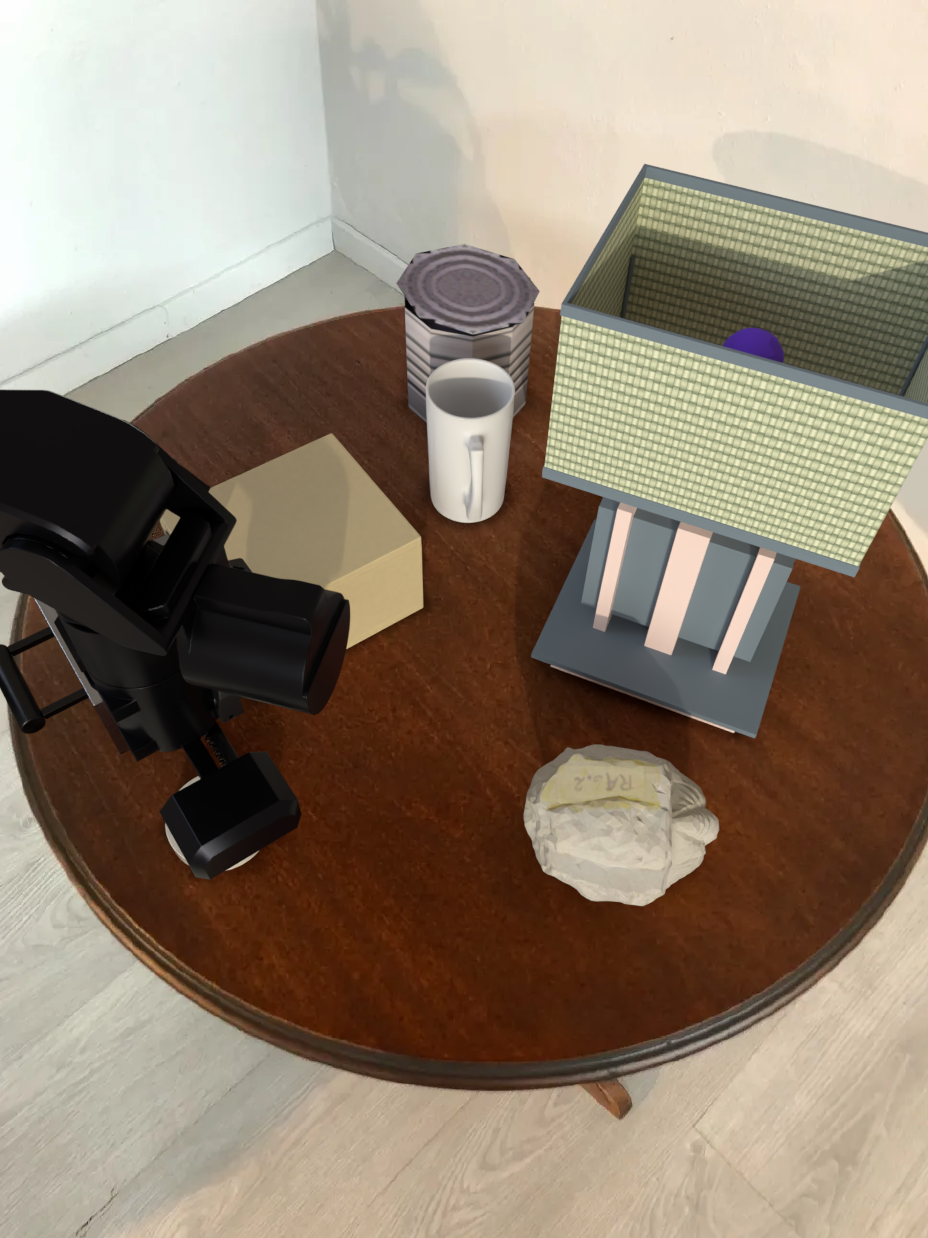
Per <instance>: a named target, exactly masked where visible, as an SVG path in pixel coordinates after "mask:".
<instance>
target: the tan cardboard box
mask: <svg viewBox="0 0 928 1238" xmlns="http://www.w3.org/2000/svg"><path fill="white" fill-rule="evenodd" d="M209 493H210V494H211V495H212V496H213V497H214V498H215V499H217V500H218V501H219V502H220V503H221V504H222V505H223V506H224V507H225V508H226V509H227V510H228V511H229V512H230V513H231V514H233V515H234V516H235V518H236V519H237V522H236V524H235V526H234V528H233V530H232V532H231V534H230V536H229V538H228V539H227V541H226V543H225V545H224V548H225V551H226V555H227V558H228V560H232V559H237V558H242V559H243V560H244V561H245V563H246V564H247V565H248V567H249V568H250V570H251V571H252V572H253V573H257V574H262V575H266V576H270V577H275V578H280V579H293V580H299V581H304V582H308V583H312V584H317V585H320V586H321V587H323V588H324V589H326V590H331V591H335V592H339V593H342V595H343V596H344V598H345V599H347V600H349V603H350V630H349V637H348V643H347V648H346V650H348V649H349V648H352V647H353V646H356V645H357V644H359V643H360V642H363V641H364V640H366V639H368V638H370V637H372V636H374V635H375V634H378V633H379V632H382V631H383V630H385V629H387V628H389V627H390V626H393V625H394V624H396V623H399V622H400V621H402V620H403V619H405V618H407V617H409V616H410V615H412V614H415V613H416V612H418V611H420V610H422V609H423V608H424V577H423V575H424V574H423V546H422V545H423V544H422V536H421V535H420V534H419V532H418V531H417V530H416V529H415V528H414V527H413V525H412V524H411V523H410V522H409V520H408V519H407V518H406V517H405V516H404V515H403V514H402V513H401V511H400V510H399V509H398V508H397V507H396V506H395V504H394V503H393V502H392V501H391V500H390V499H389V497H388V496H387V495H386V494H385V493H384V491H382V489H381V488H380V487H379V486H378V485H377V484H376V483H375V481H374V480H373V479H372V478H371V477H370V475H369V474H368V473H367V472H366V471H365V470H364V468H363V467H362V466H361V465H360V464H359V463H358V461H357V460H356V459H355V458H354V457H353V455H352V454H351V453H350V452H349V451H348V450H347V449H346V448H345V446H344V445H343V444H342V443H341V442H340V440H339V439H338V438H337V437H336V436H335V435H334V434H333V432H332V433H331V432H330V433H329V434H326V435H324V436H322V437H320V438H317V439H315V440H312V441H311V442H309V443H306V444H304V445H302V446H300V447H298V448H296V449H293V450H291V451H289V452H287V453H284V454H282V455H280V456H278V457H275V458H274V459H271V460H268V461H267V462H265V463H263V464H262V463H261V464H260V465H258V466H256V467H254V468H252V469H249V470H248V471H245V472H243V473H241V474H238V475H236V476H234V477H232V478H229V479H227V480H225V481H223V482H221V483H218V484H216V485H213V486H211V488H210V490H209ZM179 519H180V517H179V516H177V515H175V514H174V513H172V512H170V511H169V510H167V509H166V511H165V512H164V514H163V516H162V517H161V519H160V521H159V523H160V527H161V528H162V532H163V533H164V534H163V535H166V534H168V533H169V534H170V535H171V533H172V531H173V529H174V528H175V526H176V524H177V522H178V521H179Z"/></svg>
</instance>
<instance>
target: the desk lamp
mask: <svg viewBox="0 0 928 1238" xmlns="http://www.w3.org/2000/svg"><path fill="white" fill-rule="evenodd" d="M559 316H560V317H561V319H560V327H559V336H558V337H559V338H558V345H557V354H556V362H555V371H554V380H553V381H554V382H553V388H552V398H551V405H550V406H551V407H550V413H549V414H550V416H549V424H548V434H547V442H546V450H545V459H544V464H543V465H542V473H541V474H542V475H541V478H543V479H547V480H549V481H552V482H555V483H559V484H562V485H564V486H568V487H571V488H574V489H577V490H581V491H584V492H587V493H589V494H593V495H595V496H598V497H599V496H600V497H602V499H601V501H600V503H599V504H598V510H597V515H596V518H594V520H593V522H592V524H591V526H590V528H589V530H588V532H587V535H586V537H585V539H584V540H583V543H582V545H581V547H580V550H579V551H578V553H577V555H576V558H575V560H574V562H573V564H572V566H571V568H570V571H569V573H568V575H567V577H566V579H565V581H564V582H563V583H564V584H563V585H562V588H561V590H560V592H559V594H558V596H557V599H556V600H555V603H554V605H553V607H552V608H551V611H550V613H549V615H548V618H547V620H546V621H545V624H544V625H543V628H542V631H541V632H540V635H539V637H538V638H537V641H536V643H535V645H534V648H533V650H532V651H531V655H530V658H532V659H534V660H537V661H540V662H542V663H546V664H548V665H550V668H553V669H556V670H558V671H561V672H564V673H567V674H570V675H572V676H575V677H578V678H581V679H583V680H586V681H589V682H592V683H595V684H597V685H600V686H602V687H606V688H608V689H611V690H614V691H616V692H619V693H622V694H625V695H627V696H629V697H632V698H635V699H638V700H640V701H641V700H642V701H644V702H647V703H649V704H652V705H655V706H658V707H661V708H663V709H666V710H669V711H672V712H675V713H677V714H680V715H682V716H686V717H688V718H691V719H693V720H696V721H699V722H701V723H705V724H708V725H711V726H713V727H716V728H719V729H722V730H724V731H727V732H729V733H732V734H735V733H739V734H742V735H744V736H747V737H750V738H752V739H756V737H757V735H758V732H759V729H760V726H761V723H762V718H763V715H764V712H765V708H766V705H767V702H768V699H769V695H770V691H771V688H772V685H773V681H774V678H775V675H776V672H777V668H778V665H779V662H780V658H781V654H782V651H783V648H784V644H785V641H786V637H787V635H788V631H789V628H790V624H791V620H792V619H793V618H792V617H793V614H794V611H795V607H796V604H797V601H798V597H799V594H800V590H801V585H798V584H794V583H792V582H790V581H788V580H789V578H790V575H791V573H792V571H793V569H794V565H795V561H796V560H799V561H802V562H805V563H807V564H812V565H815V566H817V567H821V568H823V569H827V570H830V571H833V572H836V573H839V574H843V575H845V576H849V577H852V578H856V575H857V574H858V572H859V570H860V567H861V565H862V561H863V559H864V558H865V555H866V554H867V552H868V550H869V548H870V547H871V545H872V543H873V541H874V539H875V537H876V535H877V534H878V531H879V529H881V526H882V525H883V522H884V520H885V519H886V517H887V514H888V513H889V511H890V509H891V507H892V505H893V504H894V502H895V500H896V498H897V496H898V494H899V492H900V490H901V488H902V487H903V485H904V483H905V482H906V479H907V478H908V476H909V474H910V472H911V470H912V468H913V466H914V464H915V462H916V461H917V460H918V458H919V455H920V453H921V451H922V449H923V448H924V446H925V445H926V442H927V440H928V232H927V231H923V230H919V229H915V228H910V227H906V226H902V225H898V224H894V223H890V222H886V221H882V220H878V219H873V218H871V217H870V218H869V217H865V216H861V215H857V214H853V213H849V212H846V211H845V212H844V211H842V210H841V211H840V210H837V209H833V208H828V207H824V206H821V205H816V204H812V203H808V202H804V201H800V200H795V199H791V198H787V197H783V196H779V195H774V194H771V193H768V192H767V193H766V192H762V191H759V190H756V189H755V190H754V189H751V188H745V187H743V186H738V185H734V184H729V183H726V182H722V181H718V180H714V179H709V178H705V177H701V176H697V175H693V174H689V173H685V172H680V171H678V170H677V171H676V170H673V169H672V170H671V169H668V168H664V167H660V166H655V165H651V164H647V163H643V165H642V167H641V169H640V171H639V172H638V174H637V176H636V177H635V179H634V180H633V182H632V184H631V185H630V187H629V189H628V191H627V192H626V194H625V196H624V198H623V199H622V200H621V202H620V204H619V205H618V207H617V209H616V210H615V212H614V214H613V216H612V217H611V219H610V220H609V222H608V225H607V226H606V228H605V229H604V230H603V232H602V235H601V236H600V238H599V240H598V242H597V243H596V244H595V246H594V248H593V250H592V251H591V252H590V254H589V256H588V258H587V260H586V261H585V263H584V265H583V266H582V269H581V270H580V272H579V273H578V275H577V277H576V278H575V280H574V282H573V284H572V285H571V287H570V288H569V291H567V293H566V295H565V297H564V298H563V301H562V302H561V304H560V312H559Z"/></svg>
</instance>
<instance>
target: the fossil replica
mask: <svg viewBox="0 0 928 1238" xmlns="http://www.w3.org/2000/svg"><path fill="white" fill-rule="evenodd" d="M706 806H707V801H706V796H705V795H704V793H703V790H702V788H701V787H700V786H699V785H698V784H697V783H696V782H694V781H693V780H692V779H690V778H689V777H688V776H686V775H685V774H684V773H682V772H680V770H679V769H678V768H676V767H675V765H673V764H672V762H671V761H669V760H667V759H665V758H662V757H657V756H656V755H654V754H652V753H651V752H649V751H647V750H639V749H638V750H637V749H632V748H626V747H619V746H614V745H604V744H590V745H587V746H585V747H582V748H572V747H566V748H565V749H564V750H563V752H561V753H560V754H559V755H558V756H557V757H555V758H554V759H553V760H551V761H549V762H548V763H546V764H544V765H542V766H541V767H540V768H539V769H537V770H536V772H535V773H534V775H533V777H532V780H531V783H530V786H529V788H528V790H527V792H526V795H525V804H524V809H523V822H524V828H525V830H526V832H527V835H528V836H529V838H530V839H531V843H532V848H533V850H534V853H535V857H536V860H537V861H538V863H539V865H540V867H541V870H542V872H543V873H545V874H546V875H548V876H551V877H554V878H555V879H557V880H559V881H561V882H562V883H564V884H567V885H569V886H571V887H572V888H574V889H575V890H576V891H577V892H578V893H579V894H580V895H581V896H582V897H584V898H585V899H587V900H589V901H591V902H616V903H622V904H623V905H630V906H638V907H644V906H646V905H649V904H650V903H654V901H656V899H658V898H660V897H663V896H665V894H666V890H667V889H669V888H671V885H673V884H675V883H677V882H678V881H679V880H681V879H683V878H684V877H686V876H687V875H690V874H691V873H692V872H694V871H695V870H696V869H697V868H698V867H700V865H701V864H702V863H703V861H704V857H705V855H706V854H707V851H706V846H707V845H709V844H711V842H713V841H715V840H716V839H717V838H718V833H719V831H720V823H719V818H718V817H717V816H716V815H715V814H714V813H713V812H712V811H710V810H709V809H708V808H706Z"/></svg>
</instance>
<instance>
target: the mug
mask: <svg viewBox="0 0 928 1238" xmlns="http://www.w3.org/2000/svg"><path fill="white" fill-rule="evenodd" d="M514 395H515V385H514V382H513V380H512V378H511V376H510V375H509V374H508V373H507V372H506V371H505V370H504V369H503V368H501V367H500V366H498V365H496V364H494V363H492V362H489V361H486V360H482V359H475V358H463V359H457V360H453V361H450V362H447V363H445V364H443V365H441V366H440V367H438V368H437V369H435V370H434V371H433V372H432V374H431V375H430V376H429V378H428V380H427V383H426V415H427V423H426V433H427V455H428V475H429V476H428V477H429V491H430V499H431V503H432V504H433V506H434V508H435V510H436V511H437V512H438V513H439V514H440V515H442V517H445V518H447V519H448V520H451V521H453V522H457V523H464V524H471V523H473V524H474V523H478V522H482V521H485V520H487V519H489V518H492V517H493V516H494V515H495V514H497V512H498V511H499V510H500V509H501V507H502V505H503V503H504V499H505V492H506V484H507V476H508V470H509V469H508V468H509V459H510V458H509V457H510V447H511V440H512V439H511V437H512V430H513V429H512V428H513V419H514V418H513V411H514Z"/></svg>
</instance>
